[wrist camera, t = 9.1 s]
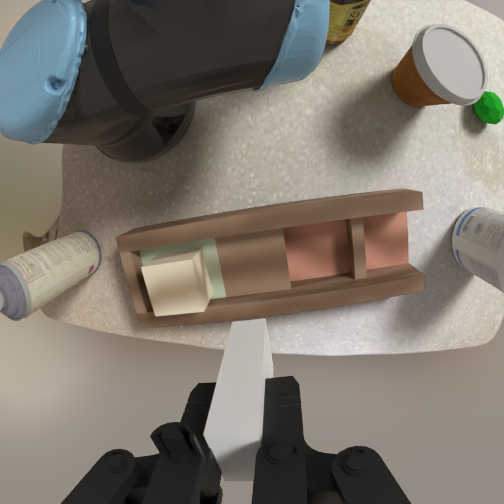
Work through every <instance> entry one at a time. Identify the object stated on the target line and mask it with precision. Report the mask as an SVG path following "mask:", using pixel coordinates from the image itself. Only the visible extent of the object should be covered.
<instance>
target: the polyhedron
mask: <svg viewBox="0 0 504 504" xmlns="http://www.w3.org/2000/svg"><path fill="white" fill-rule="evenodd" d="M474 109H475V112H476V114H477V116H478V117H479V118H480V119H481V120H482V121H483V122H484V123H490V124H497V123H498V122H500V121H501V120H502V118H503V116H504V107H503V104H502V102H501V100H500V98H499V97H498V96H497V95H496V94H495V93H492V92H486V91H484V93H483V94H482V96H481V97H480V99H479V100H478V101H477V102H475V103H474Z"/></svg>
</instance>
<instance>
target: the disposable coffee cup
mask: <svg viewBox="0 0 504 504" xmlns="http://www.w3.org/2000/svg"><path fill="white" fill-rule="evenodd" d="M487 81H488V75H487V68H486V64H485V62H484V59H483V57H482V55H481V53H480V51H479V50H478V48H477V47H476V45H475V44H474V43H473V42H472V41H471V40H470V39H469V38H468V37H467V36H466V35H465V34H464V33H462V32H461V31H459V30H458V29H456V28H454V27H451V26H448V25H444V24H437V25H434V24H432V25H427V26H424V27H422V28H421V29H420V30H419V31H418V32H417V33H416V35H415V37H414V41H413V45H412V46H411V47H410V49H409V50H408V52H407V53H406V55H405V56H404V57H403V59H402V60H401V61H400V63H399V64H398V66H397V67H396V68H395V69H394V71H393V73H392V85H393V88H394V90H395V92H396V94H397V95H398V97H399V98H400V99H401V100H402V101H404V102H405V103H406V104H409V105H411V106H415V107H420V106H429V105H439V104H451V103H453V104H456V105H462V106H467V105H471V104H473V103H475V102H477V101H478V100H479V99H480V97H481V96H482V94H483V93H484V91H485V89H486V87H487Z"/></svg>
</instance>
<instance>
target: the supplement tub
mask: <svg viewBox="0 0 504 504" xmlns="http://www.w3.org/2000/svg"><path fill="white" fill-rule="evenodd" d="M452 248H453V253H454V256H455V258H456V260H457V262H458V263H459V264H460V266H462V267H463V268H464V269H466V270H468V271H469V272H471V273H473V274H474V275H476V276H478V277H479V278H481V279H483V280H484V281H486V282H488V283H489V284H491V285H493V286H494V287H496V288H497V289H499V290H500V291H502V292H504V212H500V211H496V210H492V209H487V208H483V207H473V208H470V209H468V210H466V211H465V212H464V213H463V214H462V215H461V216H460V218H459V219H458V221H457V223H456V225H455V227H454V231H453V235H452Z"/></svg>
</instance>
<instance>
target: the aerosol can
mask: <svg viewBox="0 0 504 504" xmlns="http://www.w3.org/2000/svg"><path fill="white" fill-rule="evenodd" d="M100 262H101V251H100V247H99V244H98V243H97V241H96V239H95V238H94V237H93V236H92V235H91V234H90V233H87V232H85V231H77V232H74V233H72V234H69V235H66V236H64V237H61V238H59V239H56V240H53V241H51V242H48V243H46V244H43V245H41V246H39V247H36V248H34V249H31V250H29V251H26V252H24V253H22V254H19V255H17V256H15V257H12V258H10V259H8V260H6V261H3V262H1V263H0V312H1V313H2V314H4V315H6V316H7V317H8V318H10V319H12V320H14V321H19V320H21V319H22V318H26V317H28V316H29V315H31V314H32V313H33V312H35V311H36V310H38V309H39V308H41V307H42V306H44V305H45V304H47V303H48V302H49V301H51V300H52V299H54V298H55V297H57V296H58V295H60V294H61V293H63V292H64V291H66V290H67V289H69V288H71V287H72V286H74V285H75V284H77V283H78V282H80V281H81V280H83V279H84V278H86V277H88V276H89V275H91V274H92V273H94V272H95V271H96V270H97V269H98V267H99V266H100Z"/></svg>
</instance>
